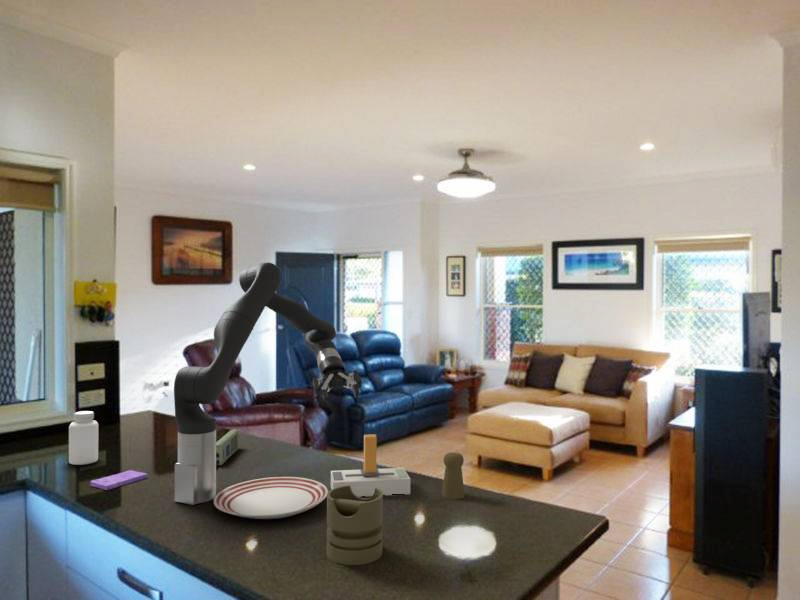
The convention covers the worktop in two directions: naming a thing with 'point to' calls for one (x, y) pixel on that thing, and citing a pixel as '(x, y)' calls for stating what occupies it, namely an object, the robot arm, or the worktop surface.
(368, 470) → the handle
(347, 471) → the box
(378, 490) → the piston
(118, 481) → the sponges
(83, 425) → the pill bottle
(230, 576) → the worktop surface
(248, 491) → the dinner plate
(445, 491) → the olive pawn figure
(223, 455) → the handheld radio
